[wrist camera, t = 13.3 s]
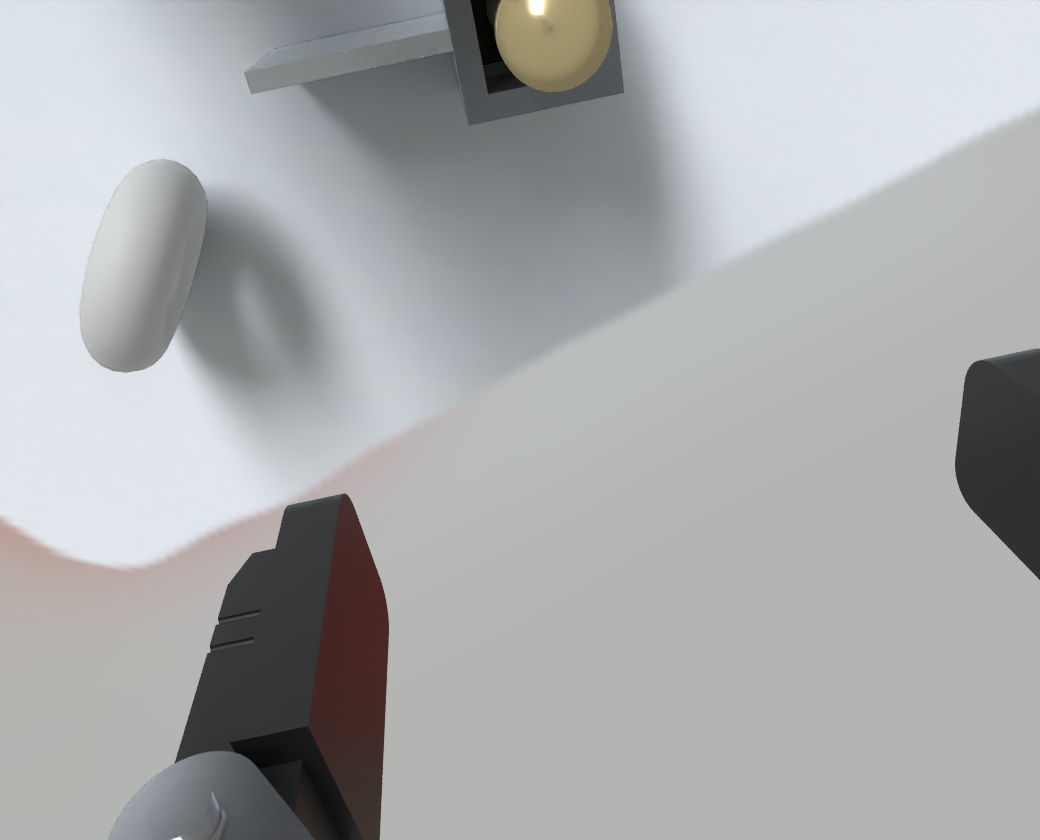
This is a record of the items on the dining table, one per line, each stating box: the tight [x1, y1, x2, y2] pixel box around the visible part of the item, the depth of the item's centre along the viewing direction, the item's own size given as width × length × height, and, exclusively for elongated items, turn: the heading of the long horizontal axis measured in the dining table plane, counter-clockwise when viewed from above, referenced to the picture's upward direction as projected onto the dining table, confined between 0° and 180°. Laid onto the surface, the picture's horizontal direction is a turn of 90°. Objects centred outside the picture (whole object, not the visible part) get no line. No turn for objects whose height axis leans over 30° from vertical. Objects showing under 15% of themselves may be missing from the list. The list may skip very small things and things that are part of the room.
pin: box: [486, 0, 613, 92], centre depth 33 cm, size 4×4×12 cm
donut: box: [80, 159, 207, 372], centre depth 38 cm, size 10×4×10 cm, turn 157°
